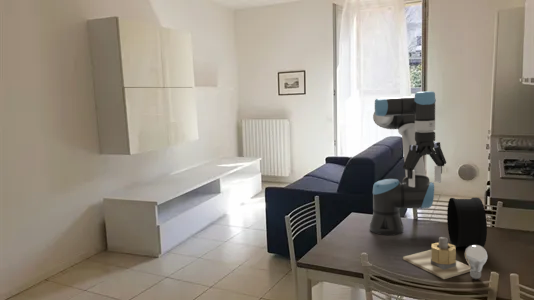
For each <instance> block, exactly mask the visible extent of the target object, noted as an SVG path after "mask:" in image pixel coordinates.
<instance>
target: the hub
mask: <svg viewBox="0 0 534 300" xmlns="http://www.w3.org/2000/svg"><path fill="white" fill-rule="evenodd" d="M456 248H457V247H455V245H452V244H451V243H449V242H448V249H441V248H439V241H438V242H435V243H431V250H432V261H434V262H436V263H438V264H453V263H455V262H456V261H457V259H456V257H457V250H456Z"/></svg>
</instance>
